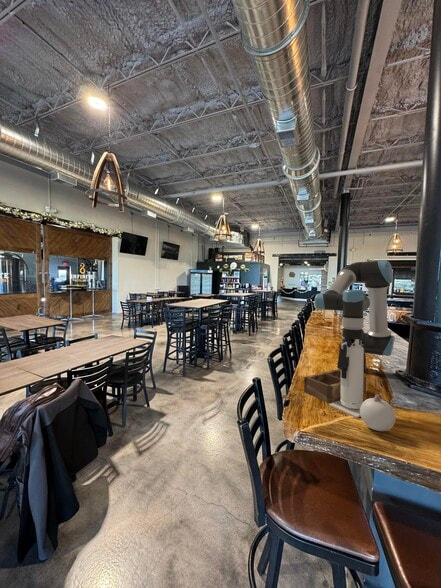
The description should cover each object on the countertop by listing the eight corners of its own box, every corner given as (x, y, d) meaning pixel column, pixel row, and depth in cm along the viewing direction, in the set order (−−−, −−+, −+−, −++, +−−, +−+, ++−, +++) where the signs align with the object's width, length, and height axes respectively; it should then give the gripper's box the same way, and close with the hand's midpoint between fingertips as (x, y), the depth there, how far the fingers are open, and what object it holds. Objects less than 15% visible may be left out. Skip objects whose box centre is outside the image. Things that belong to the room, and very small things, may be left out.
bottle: (337, 404, 106) (338, 335, 105) (344, 398, 111) (345, 332, 111) (359, 410, 100) (360, 338, 99) (365, 404, 106) (366, 335, 105)
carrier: (339, 382, 135) (339, 368, 135) (366, 391, 123) (366, 376, 123) (304, 392, 122) (304, 377, 122) (330, 403, 110) (330, 387, 110)
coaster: (346, 399, 114) (346, 398, 114) (374, 410, 104) (374, 409, 104) (328, 405, 108) (328, 404, 108) (356, 418, 98) (356, 416, 98)
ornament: (381, 440, 83) (382, 402, 83) (353, 424, 93) (354, 391, 92) (401, 433, 87) (402, 397, 87) (373, 419, 97) (373, 387, 97)
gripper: (359, 325, 114) (358, 377, 114) (327, 328, 103) (326, 385, 104) (376, 327, 107) (375, 382, 108) (344, 331, 97) (344, 392, 97)
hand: (351, 384), depth 106 cm, fingers closed on bottle, 8 cm apart
